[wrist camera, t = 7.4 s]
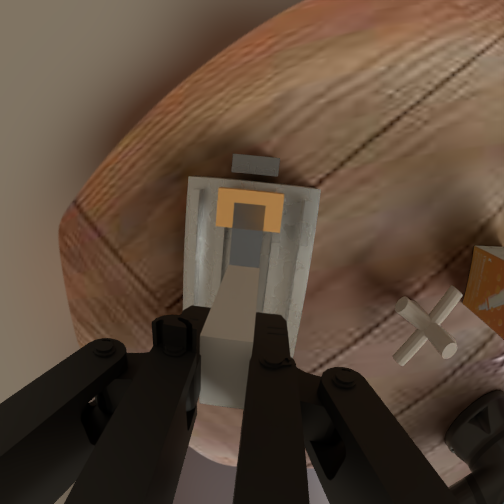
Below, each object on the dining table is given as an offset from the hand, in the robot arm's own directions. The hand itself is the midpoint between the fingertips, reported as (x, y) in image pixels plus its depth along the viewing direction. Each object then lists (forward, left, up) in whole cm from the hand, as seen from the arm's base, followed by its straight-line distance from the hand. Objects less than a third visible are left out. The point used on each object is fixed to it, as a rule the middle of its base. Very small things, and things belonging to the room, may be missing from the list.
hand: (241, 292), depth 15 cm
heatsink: (-5, 0, -17) cm, 17 cm away
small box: (-2, -31, -17) cm, 35 cm away
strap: (-6, 0, -11) cm, 12 cm away
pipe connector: (-7, -20, -17) cm, 27 cm away
